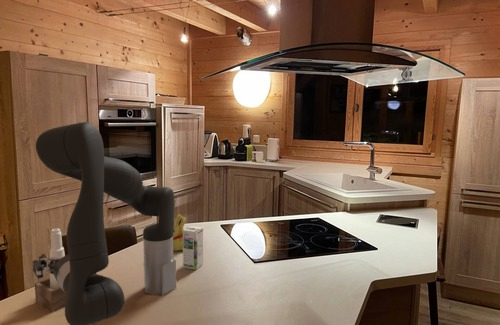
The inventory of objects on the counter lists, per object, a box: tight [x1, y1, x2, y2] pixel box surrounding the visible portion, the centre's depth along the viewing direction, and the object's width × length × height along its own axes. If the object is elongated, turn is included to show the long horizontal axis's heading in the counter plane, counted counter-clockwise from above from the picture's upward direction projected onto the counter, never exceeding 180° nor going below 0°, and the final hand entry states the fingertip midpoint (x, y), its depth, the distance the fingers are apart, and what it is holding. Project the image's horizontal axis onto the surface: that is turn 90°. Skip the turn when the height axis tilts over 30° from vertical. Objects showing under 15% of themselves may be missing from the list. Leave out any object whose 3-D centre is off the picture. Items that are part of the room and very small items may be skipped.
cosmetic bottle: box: [49, 228, 66, 290], centre depth 105 cm, size 6×6×22 cm
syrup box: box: [182, 225, 204, 271], centre depth 131 cm, size 6×6×14 cm
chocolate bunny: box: [173, 213, 187, 252], centre depth 146 cm, size 7×11×15 cm, turn 116°
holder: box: [34, 277, 67, 312], centre depth 106 cm, size 9×9×6 cm
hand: (60, 254), depth 95 cm, fingers open, 8 cm apart
